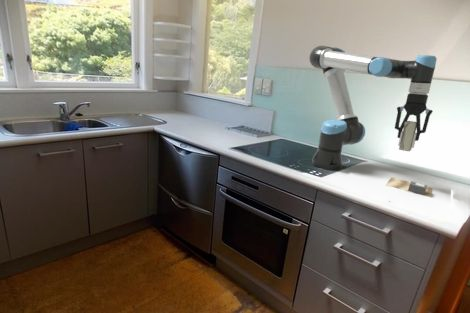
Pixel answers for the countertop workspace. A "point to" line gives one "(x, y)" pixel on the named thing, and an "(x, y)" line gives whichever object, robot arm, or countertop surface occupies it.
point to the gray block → (417, 188)
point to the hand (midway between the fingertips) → (405, 146)
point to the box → (407, 135)
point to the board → (406, 186)
